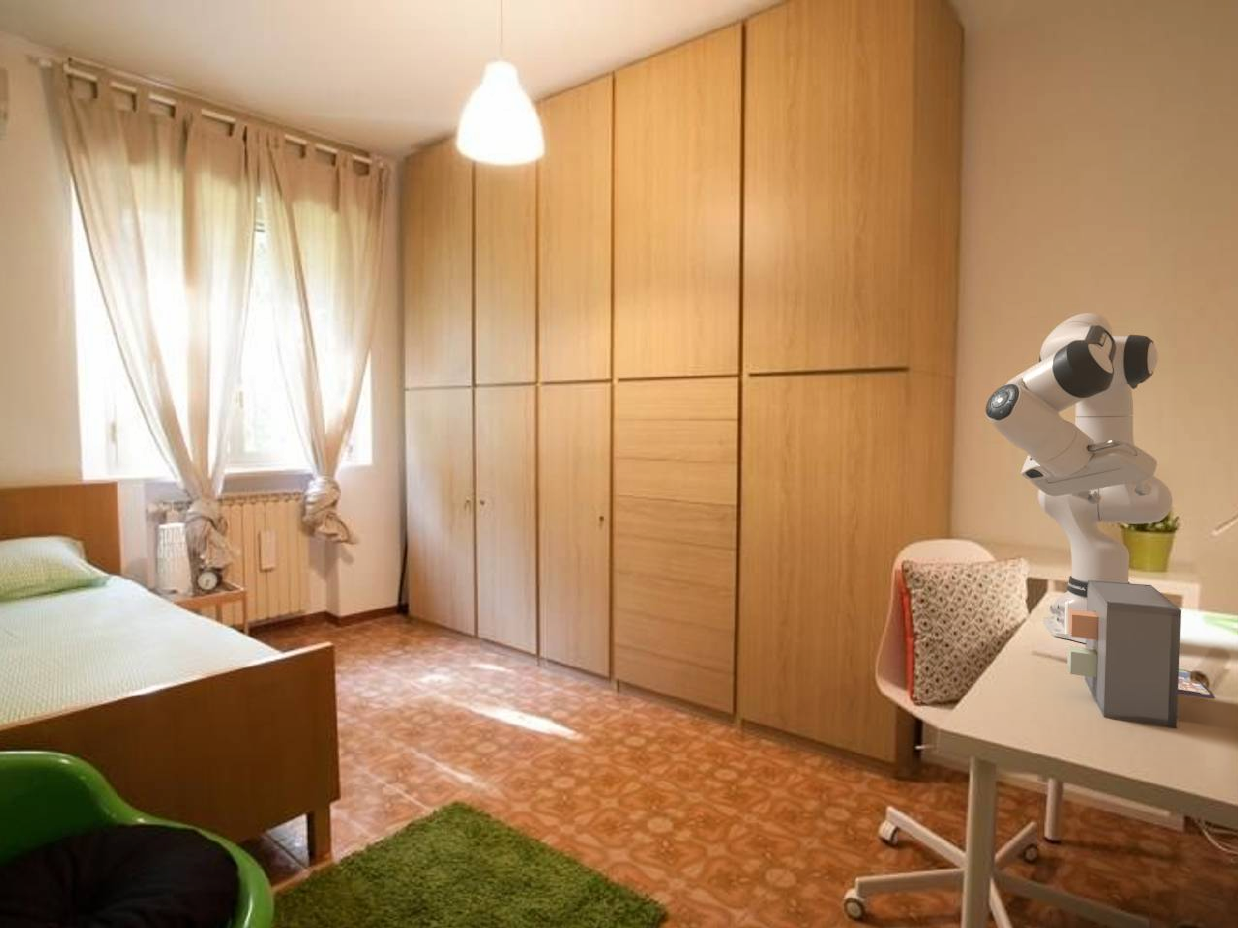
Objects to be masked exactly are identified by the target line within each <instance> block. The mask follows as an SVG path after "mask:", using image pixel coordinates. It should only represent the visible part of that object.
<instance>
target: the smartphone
mask: <svg viewBox="0 0 1238 928" xmlns="http://www.w3.org/2000/svg"><path fill="white" fill-rule="evenodd" d="M1190 672H1191V671H1190V670H1188V669H1187V670H1186V669H1181V668H1179V682H1178V695H1183V696H1184V695H1185V696H1191V697H1200V698H1209V699H1211V698H1212V699H1213V698H1214V697H1213V696H1214V694H1213V693H1212V692H1211V691H1210V690H1209V689H1208V688H1207V687H1206V686H1205V685H1204V684H1203V683H1202V684H1203V685H1202V684H1195V683H1190V682H1188V681H1187V678H1189V673H1190Z"/></svg>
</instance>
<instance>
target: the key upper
mask: <svg viewBox="0 0 1238 928" xmlns="http://www.w3.org/2000/svg"><path fill="white" fill-rule="evenodd" d="M1098 618H1099V616H1098V614H1097V613H1096V612H1094V611H1083V610H1073V609H1069V620H1068V631H1069V633H1070V635H1071V637H1077V638H1086V639H1095V640H1098Z"/></svg>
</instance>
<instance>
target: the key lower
mask: <svg viewBox="0 0 1238 928" xmlns="http://www.w3.org/2000/svg"><path fill="white" fill-rule="evenodd" d="M1066 657H1067V659H1066V660H1067V662H1066V666H1067V667H1066V668H1067V670H1068V672H1069V675H1074V676H1075V675H1076V676H1082V677H1085V676H1089V677H1097V652H1096V651H1095V649H1094V648H1086V646H1077V645H1069V644H1068V645H1067V656H1066Z"/></svg>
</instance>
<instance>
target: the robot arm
mask: <svg viewBox="0 0 1238 928" xmlns="http://www.w3.org/2000/svg"><path fill="white" fill-rule="evenodd" d="M1039 351H1040V353H1039V358H1038V360H1037V361H1038V362H1037V363H1036V364H1034V365H1033V366H1030V367H1029V368H1027V369H1026V370H1023V371H1022V372H1021V373H1019V374H1017V375H1016V376H1013V378H1011V379H1010V380H1008V381H1007V382H1006V383H1004V385H1001V387H999V388H997V389H996V390H995V391H994V392H993V393H992V394H991V396H990V397H989V399H988V400H987V402H986V404H985V416H986V418H987V419H988V420H989V422H990V423H991V424H992V425H993V427H994V428H995V429H996V430H997V431H998V432H999V434H1001V435H1002V436H1003V437H1004V438H1005V439H1006V440H1008V441H1009V442H1010V443H1011V444H1013V446H1015V447H1016V448H1019V449H1020V450H1021V449H1022V450H1023V451H1025V452H1026V453H1027V454H1028V455H1027V456H1026V459H1025V461H1024V464H1023V466H1022V468H1021V469H1022V470H1021V473H1020V474H1021V476H1022V477H1023V478H1025V479H1027V480H1030V482H1031V484H1032V485H1034V486H1035V487H1036V488H1037V489H1038V491H1037V500H1038V505H1039V506H1040V508H1041V510H1042V511H1043V512H1044V513H1045V514H1046V515H1048V516H1049V517H1050V518H1051V519H1053V520H1054V521H1055V522H1056V523H1057V524H1058V525H1059V526H1060V527H1061V529H1062V530H1063V532H1064V533H1065V535H1066V537H1067V541H1068V543H1069V546H1070V556H1071V557H1070V558H1071V572H1070V573H1071V575H1070V576H1068V581H1067V587H1066V590H1067V591H1066V592H1065V593H1064V594H1062V595H1061V596H1060V597H1059V598H1057V599H1056V600H1055V602H1054V604H1050V607H1049V611H1050V614H1051V615H1053V616H1045V617H1043V619H1042V622H1043V623H1044V625H1045V627H1046V628H1047V629H1048V630H1049V632H1050V633H1051V635H1053V637H1057V638H1063V639H1067V640H1072V641H1074V642H1075V641H1076V642H1080V643H1084V644H1086V638H1077V637H1071V635H1070V633H1069V631H1068V620H1069V609H1073V610H1083V611H1087V592H1088V580H1094V581H1106V582H1119V583H1131V582H1130V581H1129V572H1130V571H1129V565H1130V552H1129V550H1128V547H1126V545H1124V544H1123V543H1122V541H1119V540H1118V539H1116V538H1114V537H1112V536H1110V535H1108V534H1105V533H1104V532H1103V531H1101V529H1100V527H1099V525H1098V523H1100V522H1103V523H1106V522H1107V523H1117V524H1119V523H1120V524H1132V525H1137V524H1151V523H1158V522H1160V521H1162V520H1164V519H1165V518H1166V517H1167V516H1168V515H1169V513H1170V512H1171V510H1172V507H1173V496H1172V492H1171V489H1169V487H1168V486H1167V485H1166V484H1165V483H1164V482H1163V481H1162V480H1161V479H1159V478H1158V477H1156V476H1155V475H1154V474H1155V472H1156V470H1157V465H1158V464H1157V463H1158V462H1157V460H1156V458H1154V457H1153V456H1152V455H1150V454H1149V453H1147V452H1146V451H1145V450H1143V449H1141V448H1139V447H1138V446H1136V445H1135V443H1134V442H1135V441H1134V402H1133V392H1132V390H1134V389H1136V388H1138V385H1140V384H1143V383H1145V382H1146V381H1147V380H1149V378H1151V377H1152V376H1153V374H1154V372H1155V369H1156V367H1157V365H1158V359H1159V358H1158V357H1159V355H1158V351H1157V348H1156V346H1155V343H1154V341H1153V339H1151V338H1150V337H1149V336H1146V335H1140V334H1129V335H1113V329H1112V326H1111V324H1110V322H1109V321H1108V320H1107V319H1106V318H1105V317H1104V316H1102V315H1100V314H1097V313H1094V312H1084V313H1079V314H1077V315H1073V316H1071V317H1069V318H1068V319H1065V320H1064V321H1062V322H1061V323H1059V324H1058V325H1057V326H1056V327H1055V328H1054V329H1053V330H1051V332H1049V334H1048V335H1047V336H1046V338H1045V339H1044V340H1043V342H1042V344H1041V347H1040V350H1039ZM1074 405H1075V410H1074V411H1075V413H1074V415H1075V417H1074V419H1075V420H1074V424H1073V423H1072V421H1071V422H1070V421H1068V420H1066V419H1064V418H1062V416H1061V415H1060V413H1061V412H1062V411H1064V410H1066V409H1069V408H1070V407H1072V406H1074Z"/></svg>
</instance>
